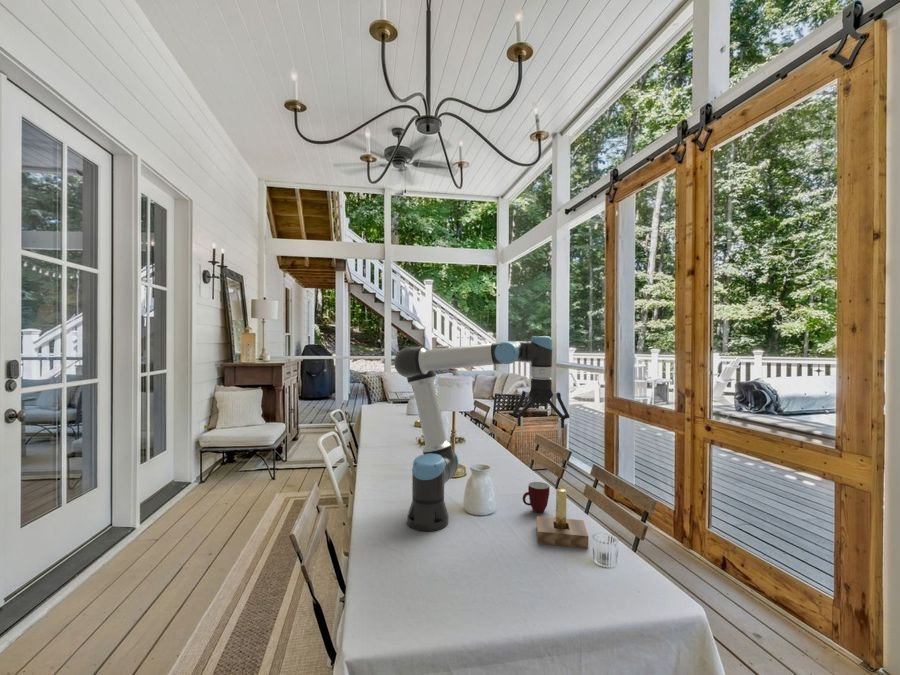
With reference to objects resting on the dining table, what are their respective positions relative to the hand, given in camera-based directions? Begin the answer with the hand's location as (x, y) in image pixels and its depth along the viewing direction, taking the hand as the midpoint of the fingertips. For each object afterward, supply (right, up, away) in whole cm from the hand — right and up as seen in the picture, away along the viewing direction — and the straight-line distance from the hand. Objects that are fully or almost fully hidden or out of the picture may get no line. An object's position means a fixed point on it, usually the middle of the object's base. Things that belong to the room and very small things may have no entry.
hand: (540, 436), depth 154 cm
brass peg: (+5, -32, -11) cm, 34 cm away
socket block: (+5, -32, -11) cm, 34 cm away
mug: (0, -32, +10) cm, 33 cm away
